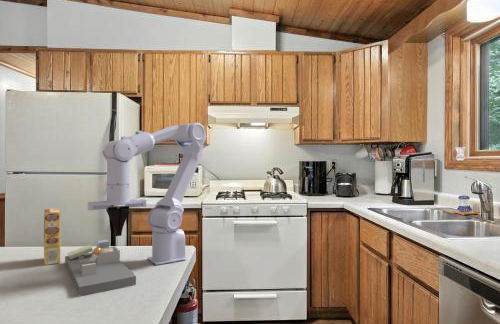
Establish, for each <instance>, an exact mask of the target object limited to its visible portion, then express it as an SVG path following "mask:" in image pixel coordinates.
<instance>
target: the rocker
mask: <svg viewBox="0 0 500 324" xmlns="http://www.w3.org/2000/svg"><path fill="white" fill-rule="evenodd" d="M93 250H94V249H93V247H92V246H91V245H90V244H88V245H86V246H82V247H80V248H77V249H75V250H71V251H69V252H67V256H69V258H70V259H73V258H76V257H78V256H81V255H84V254H86V253H92V252H93Z"/></svg>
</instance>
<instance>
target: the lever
mask: <svg viewBox="0 0 500 324" xmlns="http://www.w3.org/2000/svg"><path fill="white" fill-rule="evenodd" d="M92 252H93V255H92V256H91V258H90V260H89V262H88V263H87V264H91V263H94V261H95V260H96V258H97V256H98V255H100V254H101V252H102V249H101V248H100V247H97V246H95V248H94V249H93V251H92Z"/></svg>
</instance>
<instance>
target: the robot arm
mask: <svg viewBox="0 0 500 324" xmlns="http://www.w3.org/2000/svg"><path fill="white" fill-rule="evenodd" d="M206 139H207V133H206V131H205V127H204V125H202V123H200V122H193V123H185V124H177V125H170V126H168V127H165V128H162V129H160V130H157V131H155V132H152V133H149V132H147V131H142V130H137V131H135V134H131V135H130V136H126V135H123V136H121V137H120V139H119V140H112V141H109V142H107V143H106V144H105V146H104V148H103V150H102V155H103V157H104V158H105V160H106V200H100V201H90V202H89V201H88V202H87V211H97V210H105V211H106V213H107V215H108V217H109V219H110V222H111V224H112V228H113V234H114V236H115V237H120V236H123V235H122V234H123V233H122V232H123V229H124V225H125V223H126V221H127V218H128V216H129V214H130V213H131V208H141V207H142V208H146V207H147V199H144V198H143V199H130V190H131V189H130V188H131V186H130V184H131V183H130V181H131V179H130V177H131V176H130V175H131V174H130V173H131V172H130V170H131V169H130V168H131V165H130V163H131V160H132V159H133V158H134V157H136V156H139V155H141V154H144V153H147V152H149V151H152V150H153V148H154V147H155V145H156V144H159V143H161V142H165V141H168V140H172V141H175V142H176V144H177V146H178V147H179V148H180V150H181V152H182V153H183V156H182V159H181V161H180V163H179V164H178V167H177V169H176V171H175V173H174V176H173V177H172V180H171V182H170V184H169V187H168V188H167V190H166V192H165V195H164V196H163V197H162V198H161V199H160V200H158V201H157V202H156V203H155V205H154V207H153V208H152V209H150V211H149V212H148V215H147V223H148V225H149V226H150V227H151V233H152V235H151V236H152V237H151V238H152V239H151V241H152V242H151V244H152V245H151V254H152V255H151V256H148V257H147V260H149V261H150V262H151V263H153V264H154V265H156V266H158V265H163V264H164V265H165V264H170V263H176V262H181V261H186V260H187V257H186V236H185V232H184V230H183V229H179V228H180V227H181V225H182V221H183V213H184V211H185V209H184V207H183V205H182V202H183V199H184V197H185V195H186V192H187V191H188V189H189V186H190V184H191V182H192V179H193V177H194V174H195V173H196V171H197V168H198V165H199V163H200V162H201V159H202V156H203V150H204V149H203V148H204V143H205V141H206Z"/></svg>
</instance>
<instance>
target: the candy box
mask: <svg viewBox="0 0 500 324" xmlns="http://www.w3.org/2000/svg"><path fill="white" fill-rule="evenodd" d="M43 212H44V214H43V255H44V256H43V260H44V261H43V262H44V263H43V264H44V266H49V265H54V264H61V238H62V237H61V236H62V235H61V231H62V230H61V210H60V208H47V209H44V210H43Z"/></svg>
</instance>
